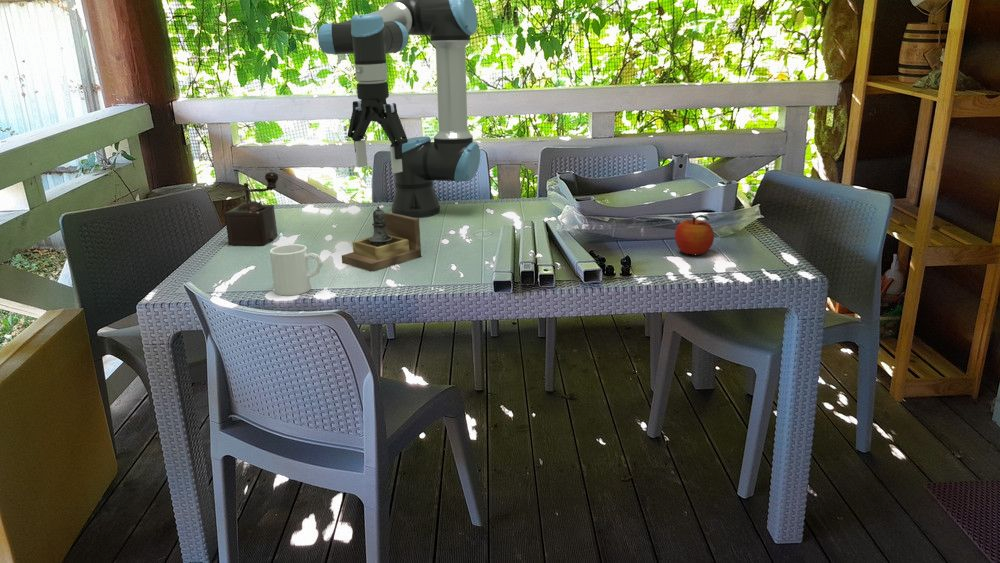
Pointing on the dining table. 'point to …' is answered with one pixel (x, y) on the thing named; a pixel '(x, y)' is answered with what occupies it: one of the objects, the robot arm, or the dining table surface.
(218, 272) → the dining table surface
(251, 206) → the manual coffee grinder
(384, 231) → the salt shaker
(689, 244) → the fruit
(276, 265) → the mug
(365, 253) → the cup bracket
